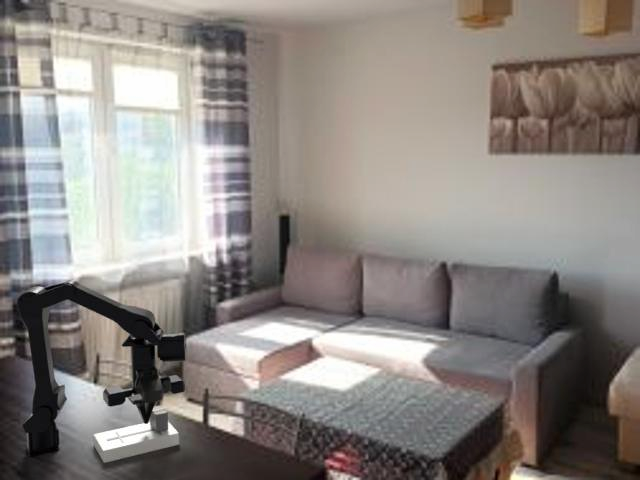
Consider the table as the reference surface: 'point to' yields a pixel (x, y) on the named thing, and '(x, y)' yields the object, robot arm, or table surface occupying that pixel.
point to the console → (133, 441)
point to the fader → (159, 419)
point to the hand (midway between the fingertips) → (145, 423)
